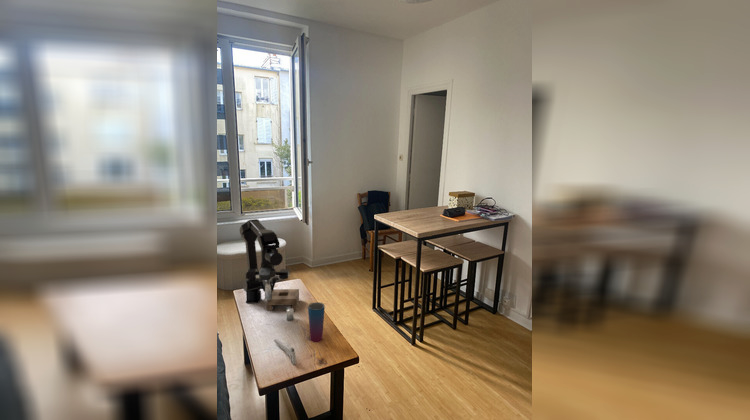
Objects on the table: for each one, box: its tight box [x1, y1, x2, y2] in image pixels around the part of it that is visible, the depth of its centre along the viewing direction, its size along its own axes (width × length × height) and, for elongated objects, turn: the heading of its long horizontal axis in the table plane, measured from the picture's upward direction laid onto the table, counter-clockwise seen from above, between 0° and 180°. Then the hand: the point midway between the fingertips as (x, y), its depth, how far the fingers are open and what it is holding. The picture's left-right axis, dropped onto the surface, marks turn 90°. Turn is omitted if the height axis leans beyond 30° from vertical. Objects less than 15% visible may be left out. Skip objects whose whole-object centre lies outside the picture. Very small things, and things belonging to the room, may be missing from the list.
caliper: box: [273, 338, 297, 366], centre depth 145 cm, size 20×1×6 cm, turn 35°
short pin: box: [285, 307, 295, 322], centre depth 172 cm, size 3×3×5 cm
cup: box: [307, 301, 326, 343], centre depth 155 cm, size 7×7×15 cm
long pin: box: [264, 278, 273, 301], centre depth 171 cm, size 3×3×9 cm
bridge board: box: [266, 288, 300, 312], centre depth 186 cm, size 14×12×6 cm
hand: (268, 291), depth 171 cm, fingers closed on long pin, 3 cm apart
